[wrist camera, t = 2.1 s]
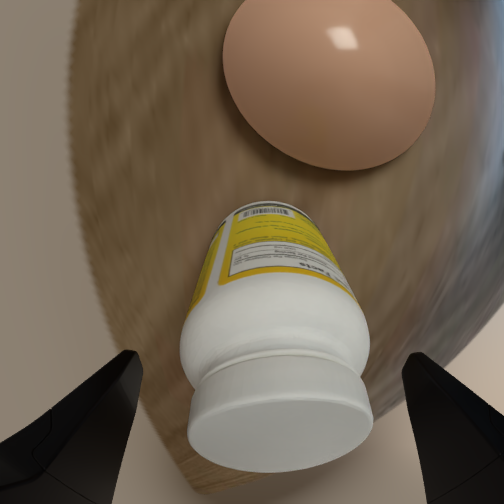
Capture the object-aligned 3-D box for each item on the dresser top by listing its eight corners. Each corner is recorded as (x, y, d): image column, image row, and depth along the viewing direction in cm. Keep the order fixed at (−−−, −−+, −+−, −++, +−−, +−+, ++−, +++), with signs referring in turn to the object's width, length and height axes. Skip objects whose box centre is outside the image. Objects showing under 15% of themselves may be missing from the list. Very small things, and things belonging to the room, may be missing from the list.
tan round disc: (456, 108, 11) (463, 108, 11) (315, 208, 14) (318, 213, 14) (343, -42, 8) (347, -48, 7) (180, 48, 11) (176, 44, 10)
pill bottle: (257, 314, 17) (256, 488, 8) (189, 243, 15) (108, 420, 5) (342, 261, 16) (422, 431, 6) (280, 173, 14) (339, 316, 4)
